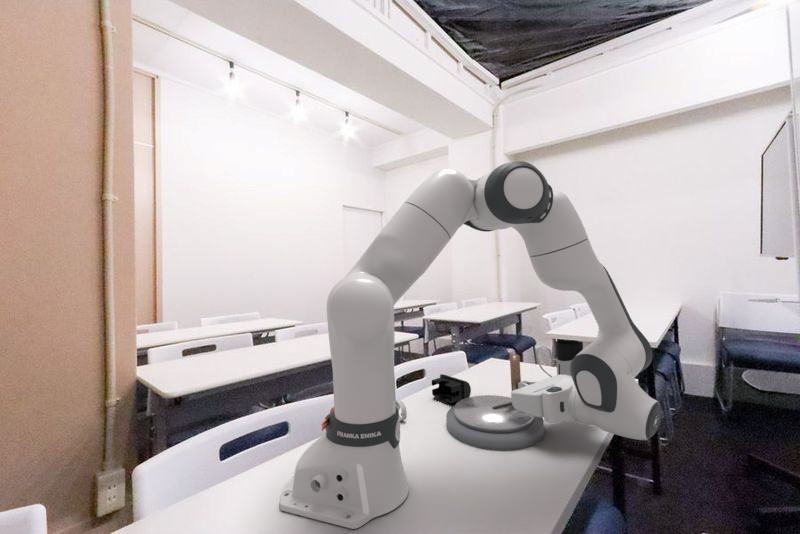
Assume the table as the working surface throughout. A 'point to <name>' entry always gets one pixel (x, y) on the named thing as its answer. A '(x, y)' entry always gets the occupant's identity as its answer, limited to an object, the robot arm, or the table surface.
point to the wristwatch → (403, 409)
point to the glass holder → (564, 355)
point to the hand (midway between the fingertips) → (521, 384)
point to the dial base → (495, 435)
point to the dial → (494, 409)
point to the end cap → (450, 390)
